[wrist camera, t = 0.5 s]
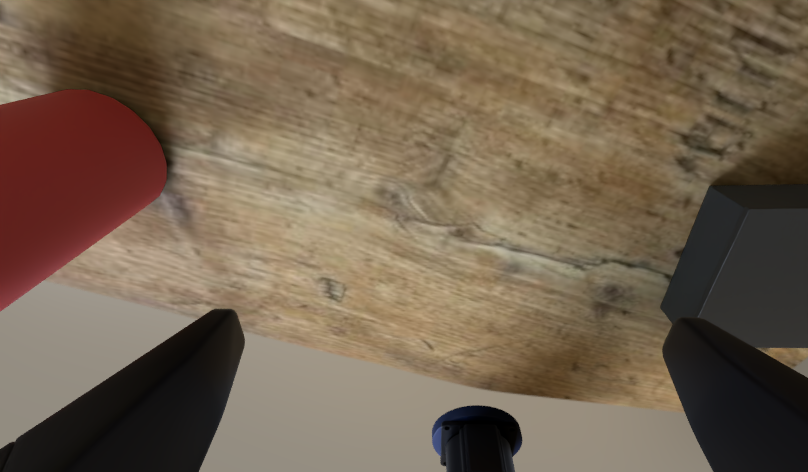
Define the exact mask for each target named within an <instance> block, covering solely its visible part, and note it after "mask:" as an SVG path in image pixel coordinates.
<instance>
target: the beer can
mask: <svg viewBox="0 0 808 472" xmlns="http://www.w3.org/2000/svg"><path fill="white" fill-rule="evenodd" d="M166 178H167V163H166V160H165V156H164V153H163V150H162V147H161V145H160V143H159V142H158V140H157V138H156V137H155V135H154V134H153V132H152V130H151V129H150V127H149V126H148V125H147V124H146V123H145V122H144V121H143V120H142V119H141V118H140V117H139V116H138V115H137V114H136V113H135V112H134V111H132V110H131V109H129V108H128V107H126V106H125V105H123V104H121V103H120V102H118V101H117V100H115V99H113V98H111V97H108V96H105V95H102V94H99V93H96V92H93V91H90V90H77V89H66V90H62V91H58V92H53V93H49V94H45V95H41V96H36V97H32V98H28V99H24V100H19V101H15V102H11V103H6V104H2V105H0V311H2V310H3V309H4V308H6V307H7V306H9V305H10V304H11V303H13V302H14V301H15V300H17V299H18V298H20V297H21V296H23V295H24V294H25V293H27V292H28V291H29V290H31V289H32V288H34V287H35V286H36V285H38V284H39V283H41V282H42V281H43V280H45V279H46V278H48V277H49V276H50V275H52V274H53V273H54V272H56V271H57V270H59V269H60V268H61V267H63V266H64V265H66V264H67V263H68V262H70V261H71V260H73V259H74V258H75V257H77V256H78V255H79V254H81V253H82V252H84V251H85V250H86V249H88V248H89V247H91V246H92V245H93V244H95V243H96V242H97V241H99V240H100V239H102V238H103V237H104V236H106V235H107V234H109V233H110V232H111V231H113V230H114V229H116V228H117V227H118V226H120V225H121V224H122V223H124V222H125V221H127V220H128V219H129V218H131V217H132V216H134V215H135V214H136V213H138V212H139V211H141V210H142V209H143V208H145V207H146V206H147V205H149V204H150V203H151V202H152V201H154V200H155V199H156V198H157V197H159V196H160V194H161V192H162V190H163V187H164V185H165V183H166Z"/></svg>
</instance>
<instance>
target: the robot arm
mask: <svg viewBox="0 0 808 472" xmlns="http://www.w3.org/2000/svg"><path fill="white" fill-rule="evenodd" d="M244 344H245V339H244V334H243V331H242V328H241V325H240V322H239V319H238V316H237V313H236V312H235V311H234V310H232V309H214V310H212V311H210V312H208V313H207V314H205V315H204V316H202V317H201V318H199V319H198V320H196V321H195V322H193V323H192V324H190V325H188V326H187V327H185V328H184V329H182V330H181V331H179V332H178V333H176V334H175V335H173V336H172V337H170V338H169V339H167V340H166V341H165V342H163V343H161V344H160V345H158V346H157V347H155V348H154V349H152V350H150V351H149V352H148V353H146V354H144V355H143V356H141V357H140V358H138V359H137V360H135V361H134V362H132V363H131V364H129V365H128V366H126V367H125V368H123V369H122V370H120V371H119V372H117V373H116V374H114V375H113V376H111V377H109V378H108V379H106V380H105V381H103V382H102V383H100V384H99V385H97V386H96V387H94V388H93V389H91V390H90V391H88V392H87V393H85V394H84V395H82V396H81V397H79V398H78V399H76V400H75V401H73V402H72V403H70V404H68V405H67V406H66V407H64V408H62V409H61V410H59V411H58V412H56V413H55V414H53V415H52V416H50V417H49V418H47V419H46V420H44V421H43V422H41V423H40V424H38V425H36V426H35V427H34V428H32V429H30V430H29V431H27V432H26V433H24V434H23V435H21V436H20V437H18V438H17V440H16V441H15V442H11V443H9V444H7V445H6V446H4V447H3V448H1V449H0V472H199V470H200V467H201V465H202V463H203V460H204V458H205V456H206V454H207V451H208V449H209V447H210V444H211V442H212V440H213V437H214V435H215V433H216V430H217V428H218V425H219V423H220V420H221V418H222V415H223V412H224V410H225V407H226V403H227V400H228V397H229V394H230V391H231V388H232V384H233V381H234V378H235V375H236V372H237V368H238V365H239V362H240V359H241V355H242V352H243V349H244ZM662 352H663V358H664V361H665V363H666V366H667V368H668V371H669V373H670V376H671V378H672V381H673V383H674V386H675V388H676V391H677V393H678V396H679V398H680V401H681V403H682V406H683V408H684V411H685V413H686V416H687V419H688V421H689V423H690V425H691V428H692V430H693V432H694V434H695V436H696V439H697V441H698V443H699V445H700V447H701V448H702V451H703V453H704V454H705V456H706V458H707V460H708V462H709V464H710V466H711V468H712V470H713V471H714V472H808V378H807V377H805V376H804V375H802V374H800V373H798V372H796V371H795V370H793V369H791V368H790V367H788V366H786V365H784V364H783V363H781V362H779V361H777V360H775V359H774V358H772V357H770V356H768V355H767V354H765V353H763V352H761V351H760V350H758V349H756V348H754V347H753V346H751V345H749V344H747V343H746V342H744V341H742V340H740V339H739V338H737V337H735V336H733V335H731V334H730V333H728V332H726V331H724V330H723V329H721V328H719V327H717V326H716V325H714V324H712V323H710V322H709V321H707V320H705V319H703V318H698V317H680V318H678V319H676V320H675V321H674V323H673V325H672V327H671V329H670V332H669V334H668V336H667V338H666V340H665V342H664V344H663V349H662ZM517 431H518V428H517V424H516V423H515V422H496V421H443V422H442V423H441V465H443V466H446V469H447V472H515V470H514V464H513V459H512V457H513V452H514V447H515V442H516V436H517Z"/></svg>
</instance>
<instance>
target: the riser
mask: <svg viewBox="0 0 808 472" xmlns="http://www.w3.org/2000/svg"><path fill="white" fill-rule="evenodd" d="M660 308H661V310H662V311H663V312H664V313H665V315H666V316H667V317H668V319H669V320H670V321H671V322H672V324H673V323H674V321H675V320H676V319H678V318H680V317H698V318H703V319H705V320H707V321H709V322H710V323H712V324H714V325H716V326H717V327H719V328H721V329H723V330H724V331H726V332H728V333H730V334H731V335H733V336H735V337H737V338H739V339H740V340H742V341H744V342H746V343H747V344H749V345H751V346H753V347H759V348H808V184H792V185H731V186H709V188H708V191H707V193H706V196H705V198H704V201H703V203H702V206H701V208H700V211H699V213H698V216H697V218H696V221H695V223H694V225H693V228H692V230H691V233H690V235H689V238H688V240H687V243H686V245H685V248H684V250H683V253H682V255H681V258H680V260H679V263H678V265H677V268H676V270H675V273H674V275H673V277H672V280H671V282H670V285H669V287H668V290H667V292H666V295H665V297H664V300H663V302H662V305H661V307H660Z"/></svg>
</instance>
